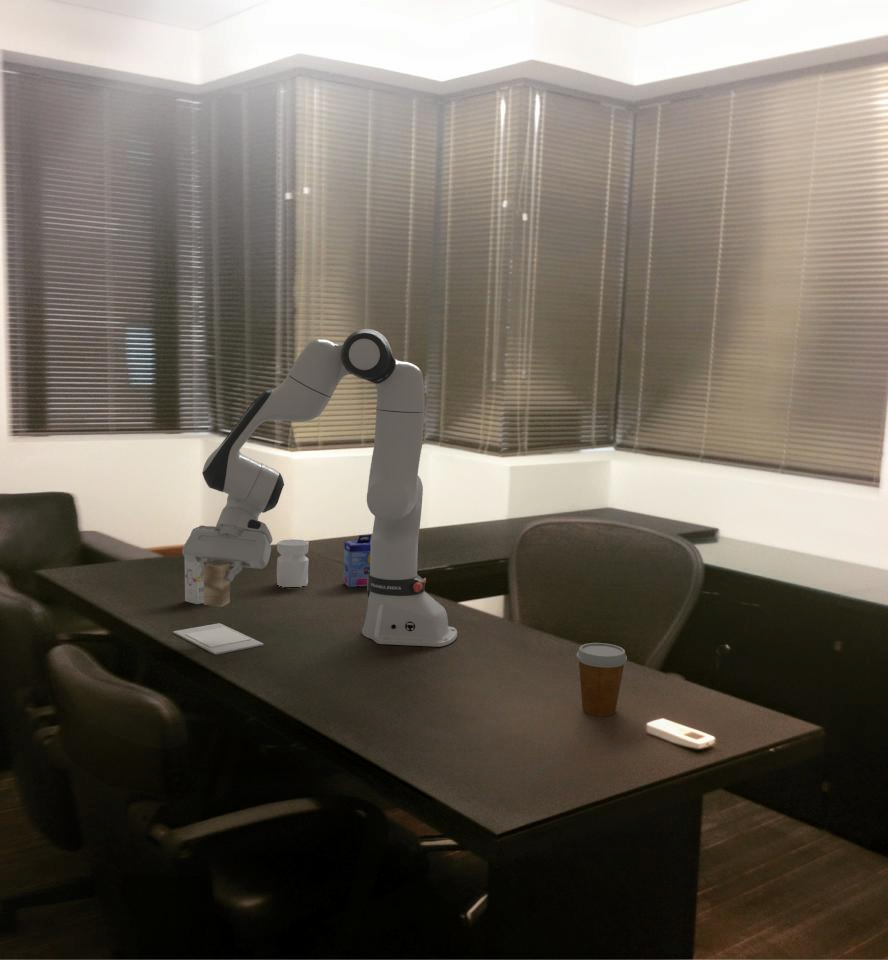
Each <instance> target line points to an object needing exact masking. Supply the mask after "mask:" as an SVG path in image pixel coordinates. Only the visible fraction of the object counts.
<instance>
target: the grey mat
mask: <svg viewBox="0 0 888 960" xmlns="http://www.w3.org/2000/svg"><path fill="white" fill-rule="evenodd" d="M172 633H173V634H174V635H176V636H178V637H180V638H181V639H184V640H186V641H188V642H190V643H191V644H194V645H195V646H197V647H199V648H200V649H203V650H206V652H207V651H208V652H209V653H211V654H213V655H214V656H215V655H222V654H226V653H231V652H237V651H242V650H247V649H252V648H257V647H263V646H264V643H263V642H261V641H259V640H257V639H254V638H253V637H250V636H248V635H246V634H244V633H242V632H240V631H237V630H236V629H233V628H232V627H229V626H226V625H225V624H222V623H220V622H219V623H213V624H208V625H207V624H206V625H202V626H197V627H190V628H185V629H178V630H174V631H172Z"/></svg>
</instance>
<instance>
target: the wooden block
mask: <svg viewBox="0 0 888 960" xmlns="http://www.w3.org/2000/svg"><path fill="white" fill-rule="evenodd" d="M230 570H231V566H230V564H227V563H217V562H211V563H209V564H207V565H204V603H203V605H204V606H212V607H221V608H222V607H225V606H226V605H228V604H230V603H231V582H229V581H225V579H224V576H225V575H226V574H225V573H226V571H230Z"/></svg>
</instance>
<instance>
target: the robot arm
mask: <svg viewBox="0 0 888 960" xmlns="http://www.w3.org/2000/svg"><path fill="white" fill-rule="evenodd" d="M392 351H393V350H392V348H391V345H390V342H389V340H388V339H387V338H386V336H385V335H383V334H382V333H381V332H379V331H377V330H375V329H371V328H364V329H362V328H361V329H359V330H356V331H354V332H353V333H351V334H350V335H348V337H347V338H346V339H345V340H344V342H342V343H336V342H333V341H331V340H328V339H325V338H315V339H312V340H311V341H309V342H308V344H306V346H305V347H304V349H302V352H301V353H300V354H299V355H298V357H297V358H296V360H295V361H294V363H293V364H292V366H291V368H290V370H289V372H288V374H287V376H286V377H285V379H284V380H283V381H282V382H281V383H280V384H279V385H278V386H277V387H275V388H273V389H266V390H264V391H262V392H261V393H260V394H259V395H258V396H257V397H256V398H255V400H254V401H253V402H252V403H251V404H250V406H249V407H248V408H247V409H246V411H245V412H244V413H243V415H241V417H240V419H239V420H238V421H237V422H236V424H235V425H234V427H233V428H232V429H231V431H230V432H229V433H228V434H227V435H226V437H225V438H224V440H223V441H222V442H221V443H220V444H219V446H218V447H217V448H216V449H215V450H213V452H211V454H210V455H209V456H208V457H207V459H206V461H205V462H204V465H203V469H202V476H203V479H204V482H205V483H206V485H207V486H208V488H209V489H212V490H215V491H218V492H221V493H225V494H227V498H226V499H227V500H226V504H225V506H224V507H223V509H222V510H221V512H220V515H219V518H218V520H217V522H216V525H215V526H213V525H212V526H211V525H207V526H206V525H203V524H202V525H199V526H197V527H195V528H193V529H192V530H191V532H190V535H189V537H188V538H187V540H186V542H185V543H184V545H183V547H182V550H181V552H182V555H183V556H184V558H186V560H187V561H189V562H199V563H201V567H202V571H201V573H200V577H201V578H202V579H204V565H207V564H209V563H211V562H217V563H227V564H230V567H233V568H230V571H226V573H225V574H226V575H225V576H224V579H225V581H229V582H230V583H231V582H234V578H235V577H236V576H237V575H238V574H239V573H240V572H242V570H243V568H250V569H257V570H258V569H260V570H263V569H264V568H266V567H267V565H268V564H269V561H270V557H271V553H272V547H271V544H272V543H273V537H272V533H271V531H270V529H269V527H268V525H266V523H264V522H262V521H260V520H259V517H260V515H261V513H263V514H264V513H267V512H268V511H271V510H273V509H274V508H276V506H277V505H278V503H279V500H280V497H281V494H282V492H283V489H284V486H285V483H284V478H283V476H282V474H281V473H280V472H279V471H278V470H277V469H275V468H272V467H270V466H268V465H267V464H264V463H261V462H259V461H257V460H255V459H253V458H249V457H248V456H246V455H244V454H242V453H241V451H240V450H241V449H242V447H243V446H244V445H245V444H246V442H247V440H248V439H249V438H250V437H251V436H252V434H253V433H254V431H256V429H257V428H258V427H259V426H260V425H261V424H262V423H266V422H269V421H282V422H283V421H284V422H293V423H294V422H295V423H302V422H308V421H312V420H315V419H316V418H318V417H319V416H320V415H321V414H322V413H323V412H324V410H325V409H326V407H327V405H328V403H329V402H330V401H331V399H332V396H333V395H334V393H335V390H336V388H337V386H338V385H339V383H340V382H341V381H342V379H343V378H344V377H346V376H348V375H352V376H355V377H356V378H359V379H361V380H362V379H363V380H365V381H367V382H370V383H371V384H372V383H373V384H374V385H375V387H376V410H375V411H376V413H375V429H374V442H373V450H372V455H371V456H372V457H371V462H370V467H369V476H368V483H367V484H368V485H367V492H366V504H367V505H366V506H367V508H368V510H369V511H370V513H371V514H372V515H373V516H374V519H373V520H374V521H373V525H372V526H373V528H372V533H371V553H370V574H369V575H368V582H367V586H366V592H367V597H368V599H367V600H368V601H367V607H366V614H365V619H364V622H363V623H364V624H363V626H362V630H361V634H362V635H363V636H364V637H365V638H368V639H371V640H372V641H373V642H374V643H376V644H379V645H398V646H413V647H414V646H415V647H417V646H418V647H421V646H422V647H439V648H440V647H444V646H448V645H450V644H451V643H453V642H454V641H455V640H456V639H457V638H458V630H457V628H455V627H454V626H450V625H449V619H448V614H447V611H446V609H445V607H444V606H443V605H441V604H440V603H439V602H438V601H437V600H435V599H434V598H433V597H432V596H431V595H430V594H428V593H427V592H426V591H425V590H426V583H427V578H426V577H424V578H422V577H421V576H420V575H419V574H418V557H419V556H418V555H419V554H418V553H419V551H418V550H419V548H418V547H419V537H420V527H421V518H422V508H423V506H422V505H423V495H424V493H423V492H424V487H423V482H422V479H421V477H420V475H419V467H420V460H421V454H422V448H423V442H424V441H423V440H424V423H425V422H424V420H425V408H426V407H425V399H426V398H425V385H424V382H425V381H424V376H423V372H422V370H421V369H420V367H418V366H417V365H415V364H414V363H411V362H409V361H403V360H398V359H397V358H395V357H394V355H393V352H392Z"/></svg>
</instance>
